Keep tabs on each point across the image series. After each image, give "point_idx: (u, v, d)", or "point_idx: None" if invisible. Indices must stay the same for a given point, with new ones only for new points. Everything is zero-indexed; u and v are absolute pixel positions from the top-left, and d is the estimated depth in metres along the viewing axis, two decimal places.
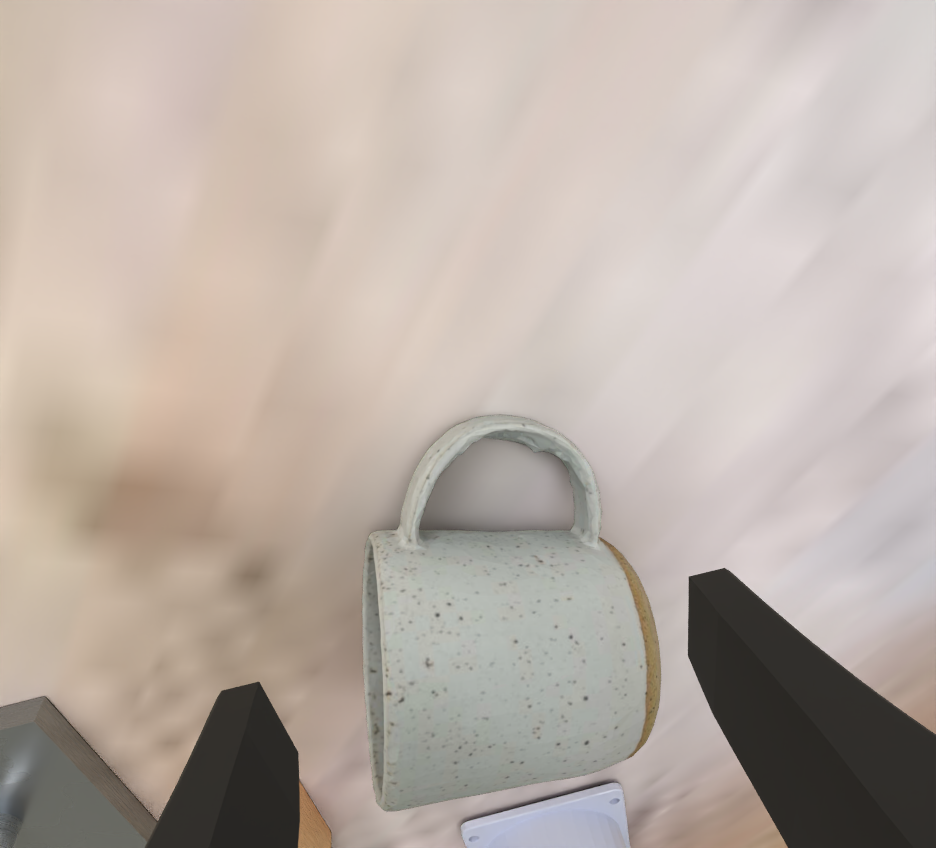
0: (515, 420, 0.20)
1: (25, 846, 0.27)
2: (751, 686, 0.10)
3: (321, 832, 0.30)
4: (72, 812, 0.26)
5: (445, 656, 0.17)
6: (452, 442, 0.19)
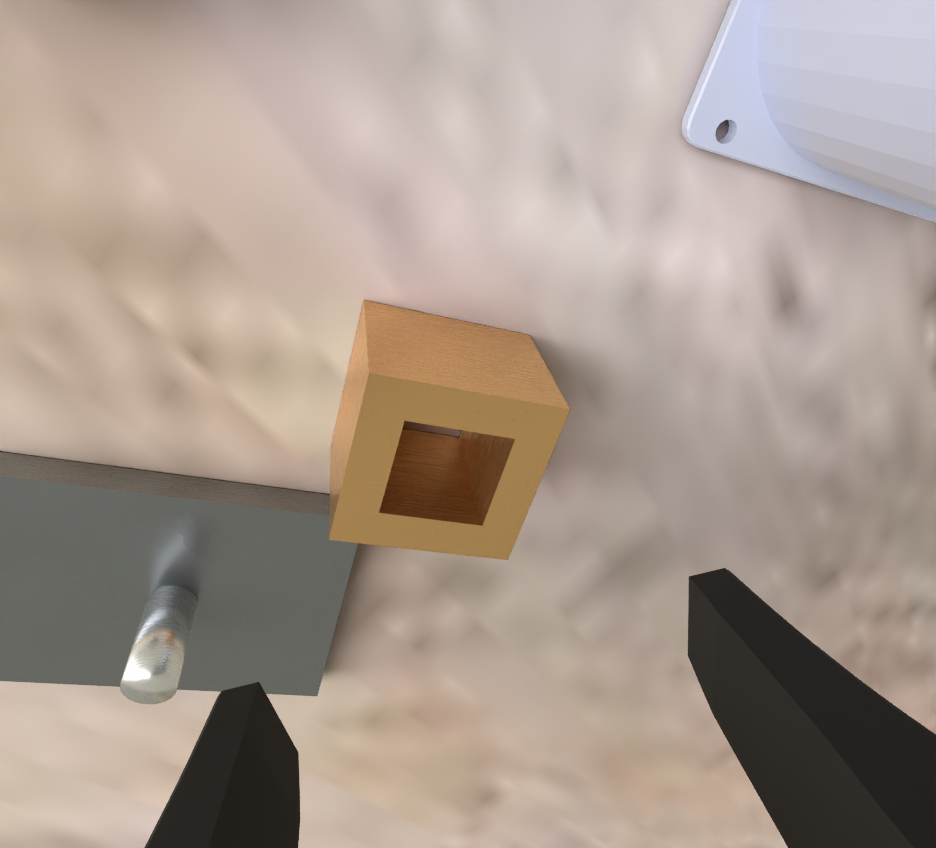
0: None
1: (234, 608, 0.21)
2: (751, 686, 0.10)
3: (485, 335, 0.18)
4: (195, 540, 0.19)
5: None
6: None
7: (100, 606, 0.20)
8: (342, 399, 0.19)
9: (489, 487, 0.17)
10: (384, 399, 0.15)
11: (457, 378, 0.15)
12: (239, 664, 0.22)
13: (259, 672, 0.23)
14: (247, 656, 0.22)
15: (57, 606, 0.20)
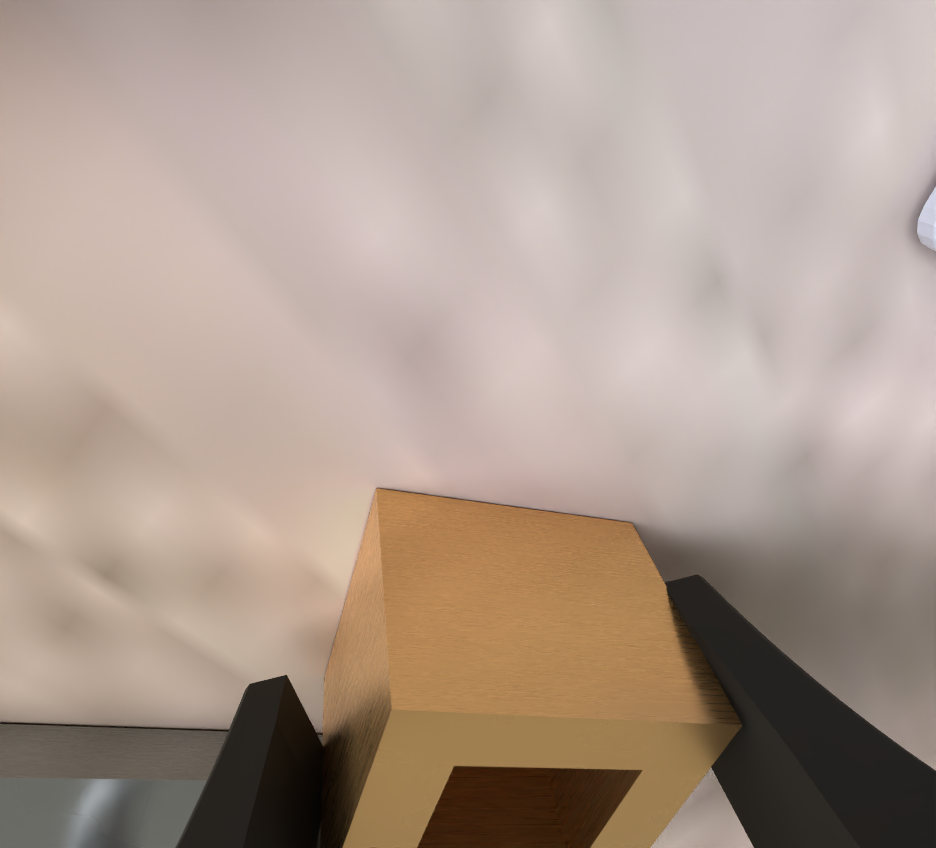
0: None
1: None
2: None
3: (570, 539, 0.11)
4: (118, 825, 0.13)
5: None
6: None
7: None
8: (341, 623, 0.12)
9: (584, 811, 0.10)
10: (419, 742, 0.08)
11: (547, 681, 0.08)
12: None
13: None
14: None
15: None
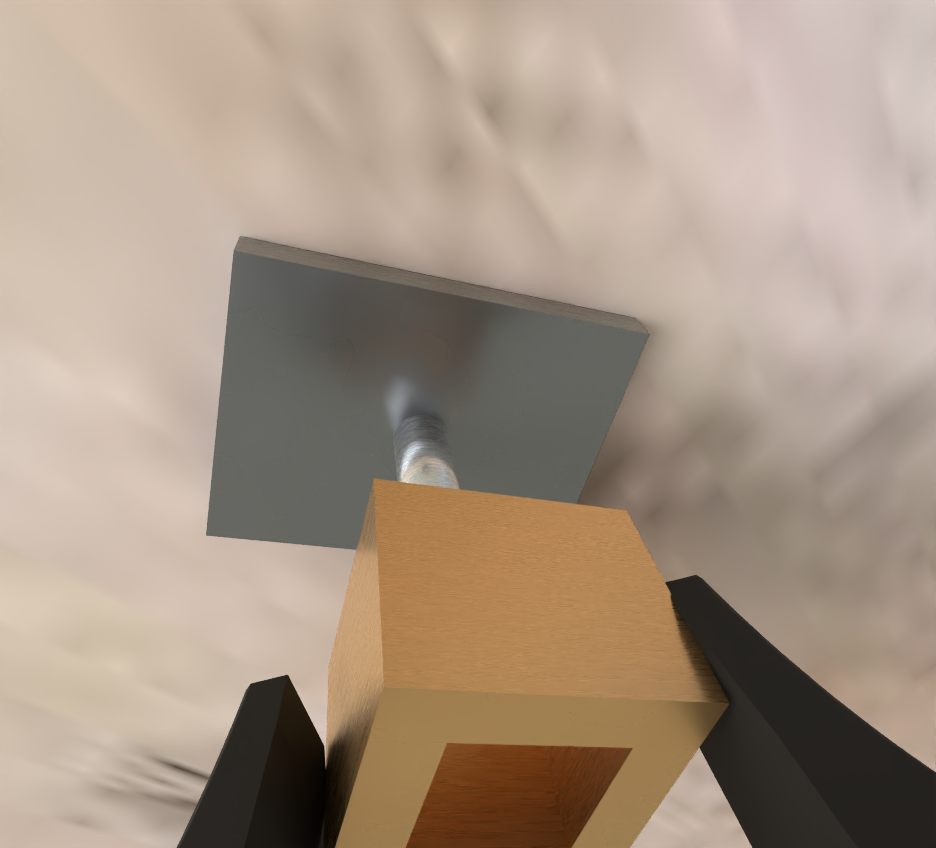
0: None
1: (485, 449, 0.18)
2: None
3: (565, 526, 0.11)
4: (461, 355, 0.17)
5: None
6: None
7: (341, 441, 0.17)
8: (343, 611, 0.12)
9: (580, 790, 0.10)
10: (412, 719, 0.08)
11: (537, 661, 0.09)
12: None
13: None
14: None
15: (295, 439, 0.17)
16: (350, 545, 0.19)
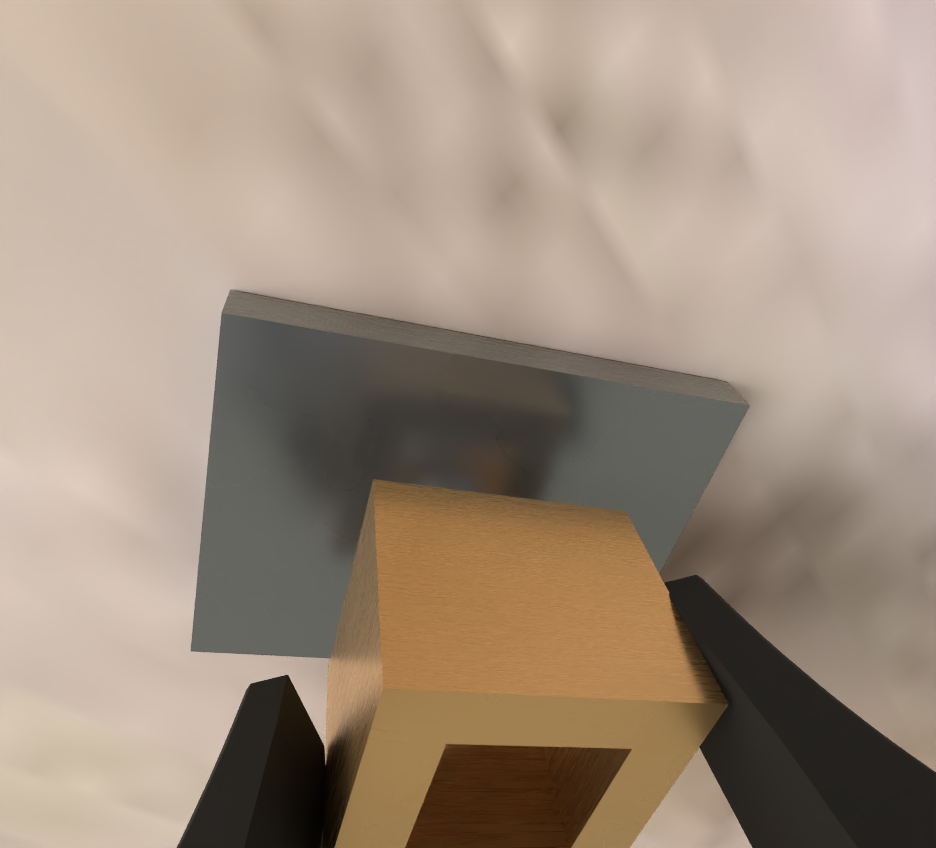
0: None
1: None
2: None
3: (564, 527, 0.11)
4: (513, 435, 0.13)
5: None
6: None
7: None
8: (343, 612, 0.12)
9: (579, 791, 0.10)
10: (411, 720, 0.08)
11: (536, 662, 0.09)
12: None
13: None
14: None
15: (301, 539, 0.14)
16: None
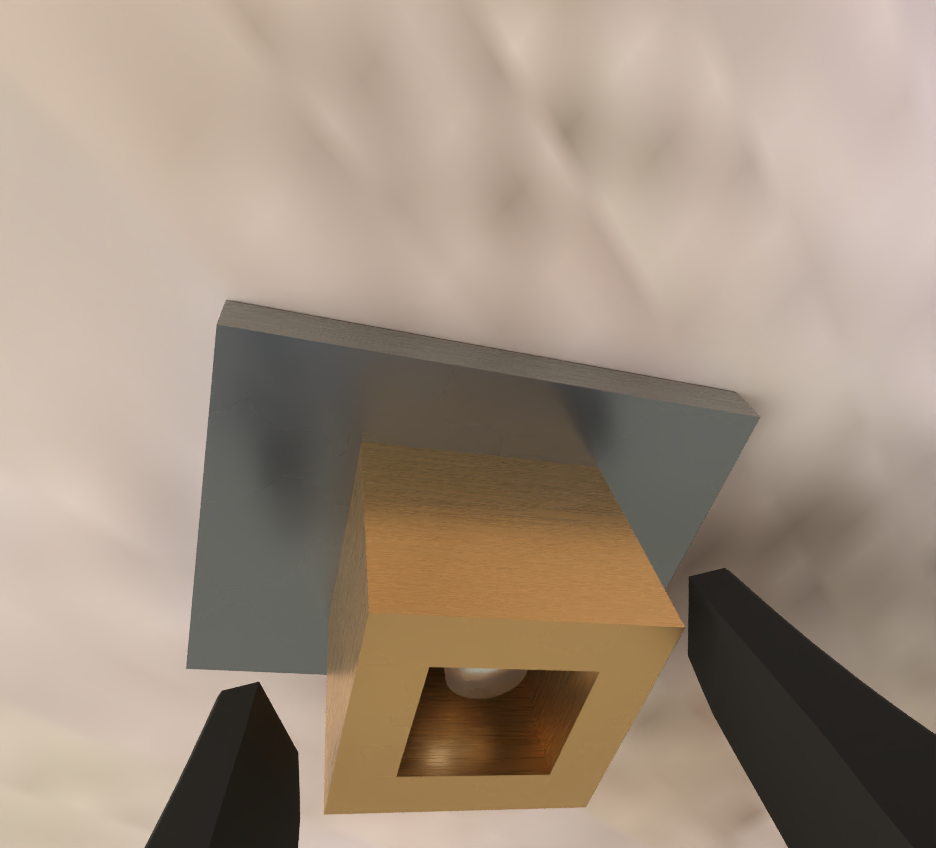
0: None
1: None
2: (751, 685, 0.10)
3: (539, 481, 0.12)
4: (517, 448, 0.13)
5: None
6: None
7: None
8: (339, 568, 0.13)
9: (557, 718, 0.11)
10: (396, 643, 0.09)
11: (508, 592, 0.10)
12: None
13: None
14: None
15: (300, 555, 0.13)
16: None
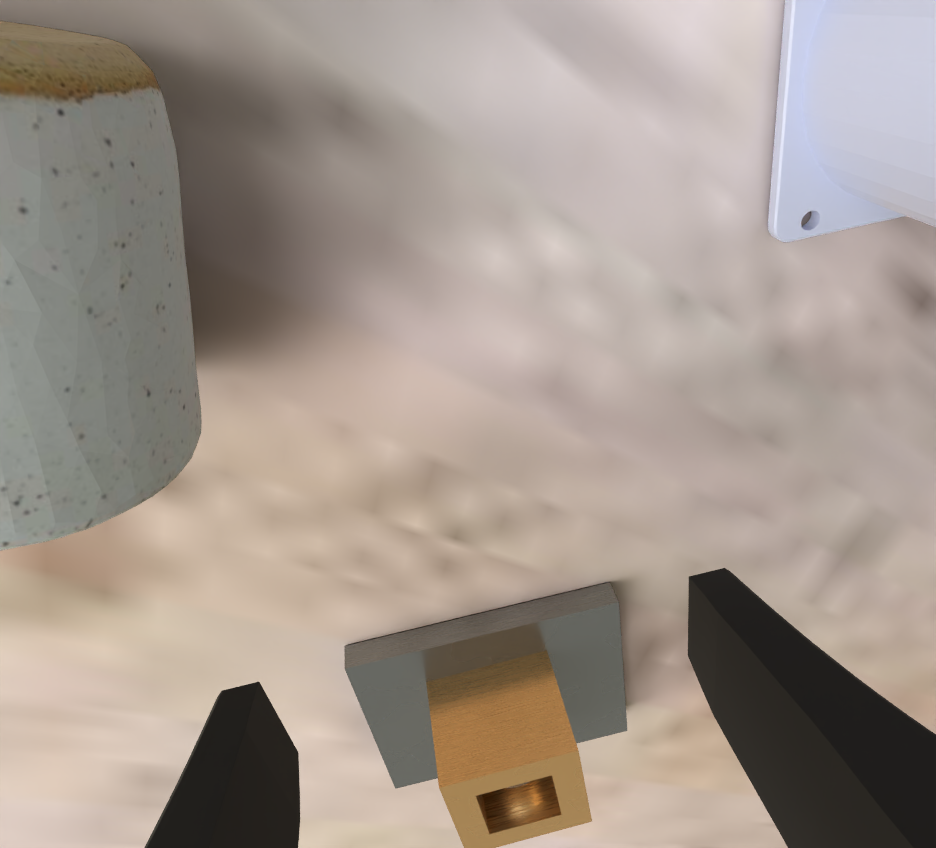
0: None
1: None
2: (751, 686, 0.10)
3: (514, 675, 0.25)
4: (500, 658, 0.25)
5: None
6: None
7: None
8: None
9: (555, 789, 0.24)
10: (456, 793, 0.22)
11: (496, 757, 0.22)
12: None
13: (577, 727, 0.28)
14: None
15: (423, 730, 0.27)
16: None
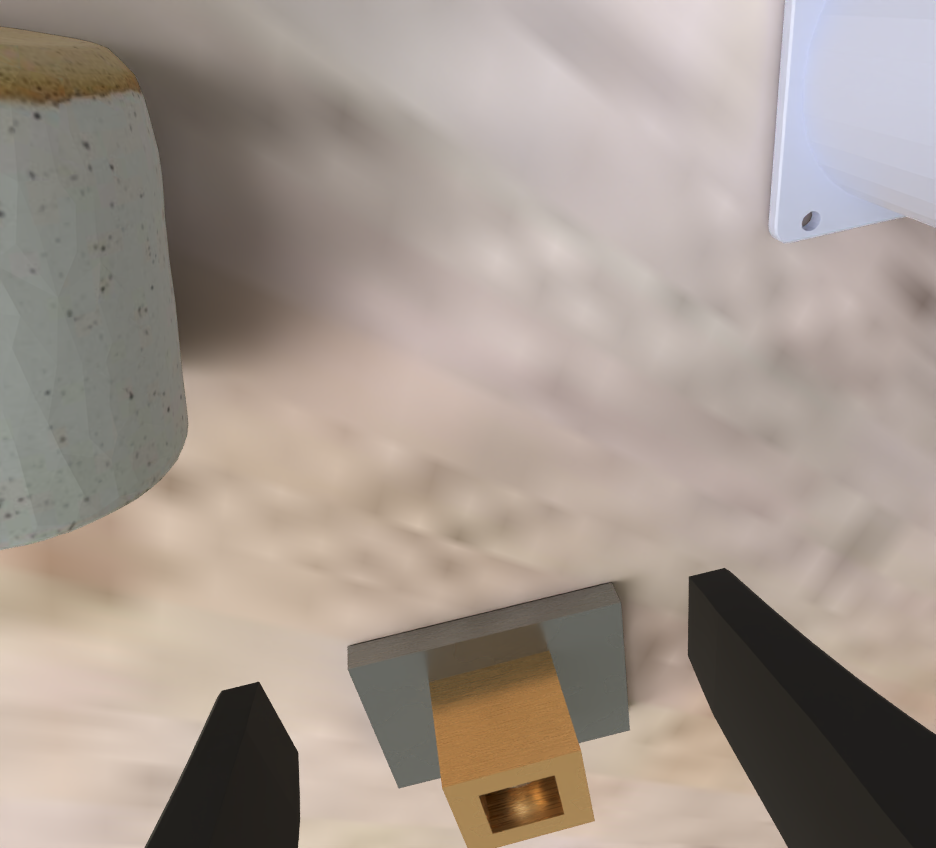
0: None
1: None
2: (751, 686, 0.10)
3: (516, 675, 0.25)
4: (503, 658, 0.25)
5: None
6: None
7: None
8: None
9: None
10: (459, 793, 0.22)
11: (499, 757, 0.22)
12: None
13: (580, 727, 0.28)
14: None
15: (426, 730, 0.27)
16: None
